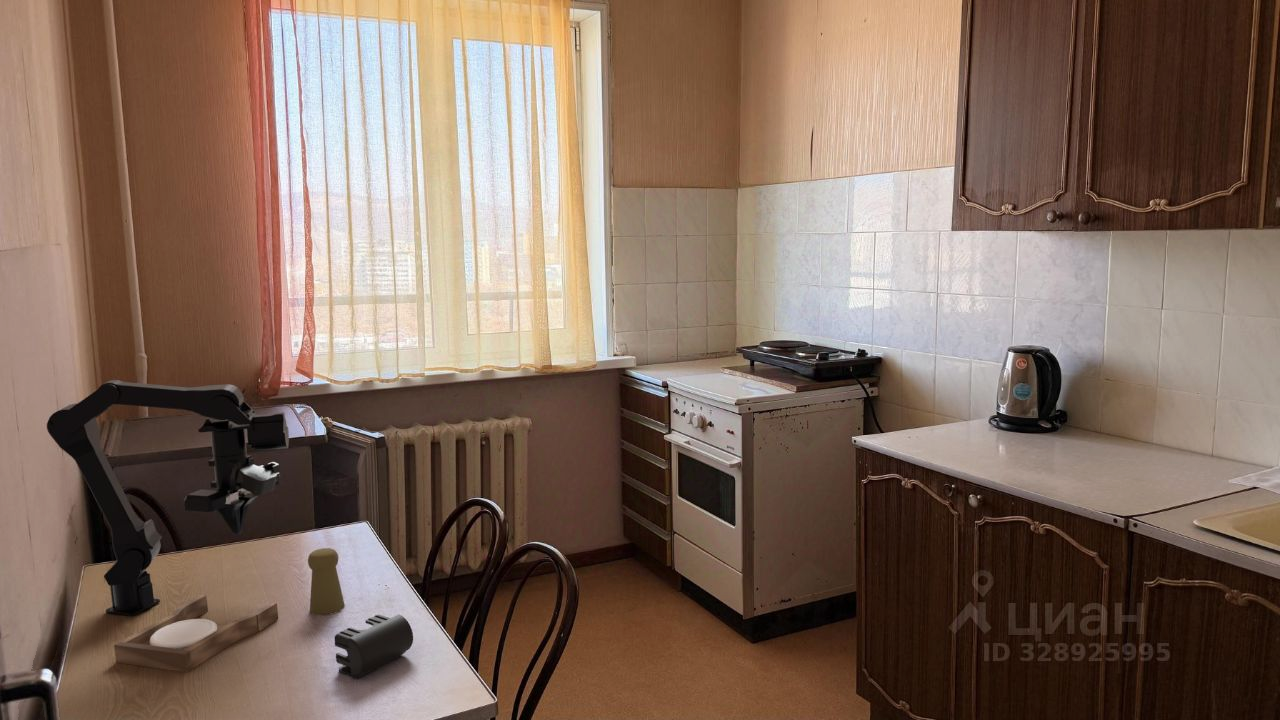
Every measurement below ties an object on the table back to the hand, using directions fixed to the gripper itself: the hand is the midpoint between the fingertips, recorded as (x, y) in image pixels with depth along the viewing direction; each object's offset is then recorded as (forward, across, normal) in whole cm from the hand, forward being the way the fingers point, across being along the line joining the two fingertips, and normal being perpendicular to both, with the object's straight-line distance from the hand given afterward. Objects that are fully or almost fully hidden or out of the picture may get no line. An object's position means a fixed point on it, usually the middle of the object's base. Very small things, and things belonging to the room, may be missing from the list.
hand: (237, 533), depth 168 cm
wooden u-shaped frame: (+12, -18, -6) cm, 22 cm away
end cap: (+12, -19, -41) cm, 47 cm away
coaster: (+12, -22, -7) cm, 26 cm away
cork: (+12, -2, -20) cm, 24 cm away
